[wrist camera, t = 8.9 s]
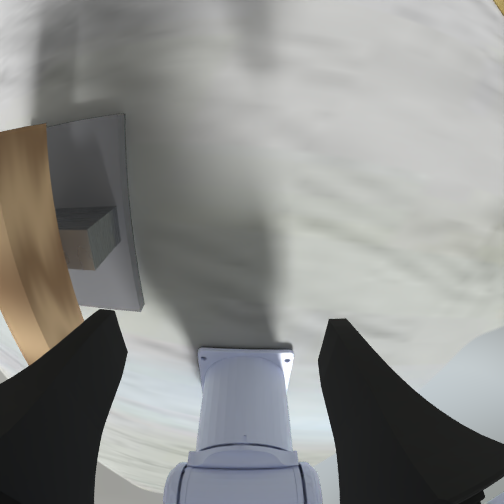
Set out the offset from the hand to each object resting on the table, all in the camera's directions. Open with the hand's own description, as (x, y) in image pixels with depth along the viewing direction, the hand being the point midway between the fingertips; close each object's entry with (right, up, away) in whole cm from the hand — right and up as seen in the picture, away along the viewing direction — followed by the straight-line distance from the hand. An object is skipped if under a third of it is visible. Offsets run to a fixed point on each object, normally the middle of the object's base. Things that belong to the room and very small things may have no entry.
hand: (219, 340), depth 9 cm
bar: (-11, +3, +4) cm, 12 cm away
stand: (-11, +5, +9) cm, 15 cm away
